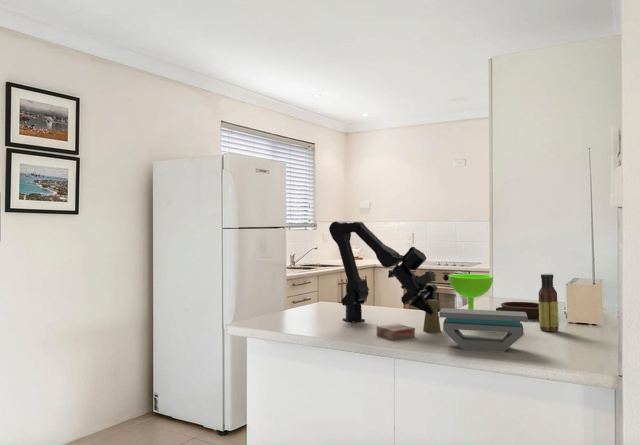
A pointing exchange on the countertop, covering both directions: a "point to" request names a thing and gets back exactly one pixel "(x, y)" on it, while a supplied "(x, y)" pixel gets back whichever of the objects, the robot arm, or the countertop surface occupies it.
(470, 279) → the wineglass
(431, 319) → the olive tall rounded piece
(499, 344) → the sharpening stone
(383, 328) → the tan flat block
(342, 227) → the robot arm
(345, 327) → the countertop surface
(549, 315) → the sauce bottle
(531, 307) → the dish
